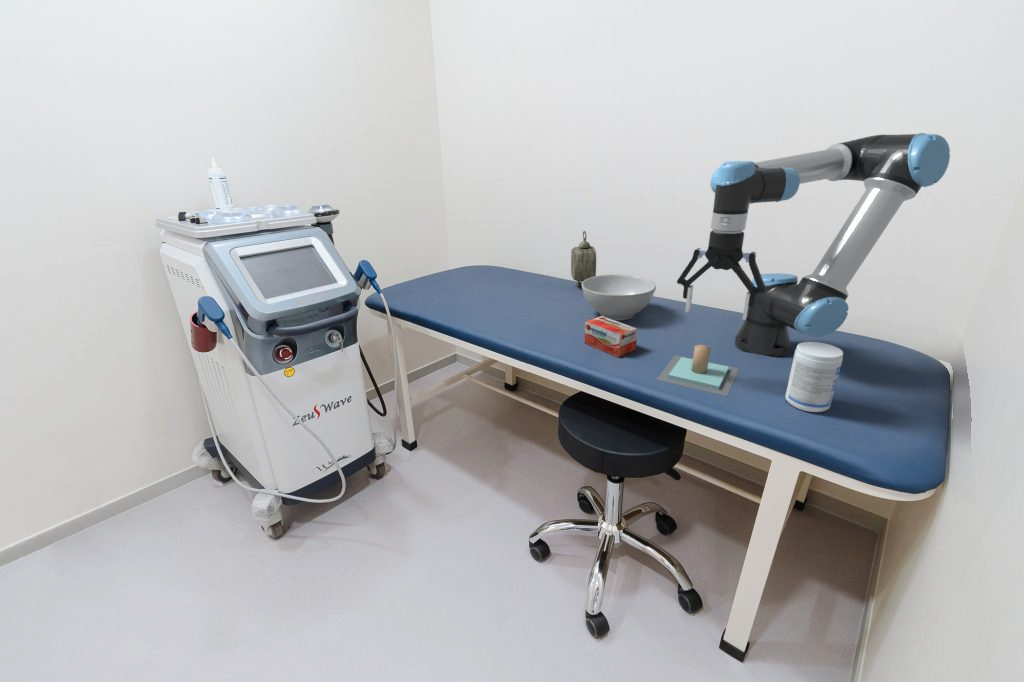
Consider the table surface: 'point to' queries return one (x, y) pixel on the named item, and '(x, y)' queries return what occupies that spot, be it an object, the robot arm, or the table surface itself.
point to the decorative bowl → (618, 295)
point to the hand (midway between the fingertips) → (715, 314)
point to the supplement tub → (814, 376)
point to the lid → (699, 369)
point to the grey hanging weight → (583, 261)
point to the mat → (722, 390)
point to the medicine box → (610, 336)
